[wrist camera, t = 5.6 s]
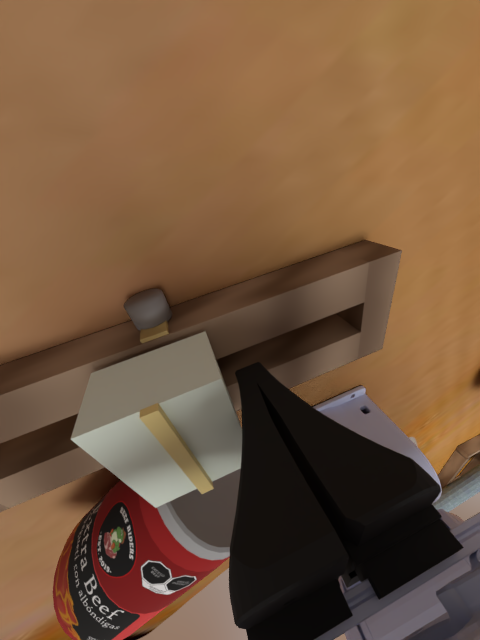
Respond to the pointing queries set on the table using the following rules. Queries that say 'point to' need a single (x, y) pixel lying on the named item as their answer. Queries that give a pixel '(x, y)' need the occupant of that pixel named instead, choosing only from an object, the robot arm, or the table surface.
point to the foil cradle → (460, 461)
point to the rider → (162, 421)
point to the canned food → (140, 557)
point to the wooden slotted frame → (225, 339)
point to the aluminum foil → (459, 490)
